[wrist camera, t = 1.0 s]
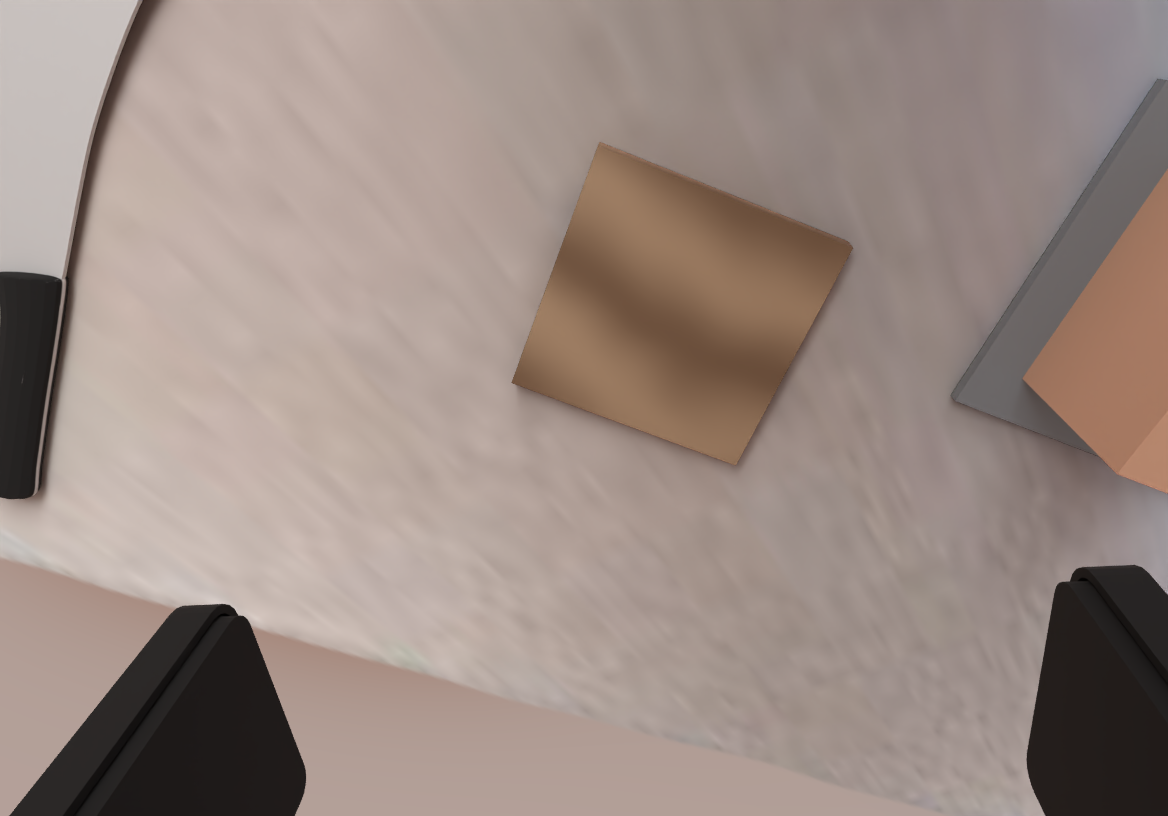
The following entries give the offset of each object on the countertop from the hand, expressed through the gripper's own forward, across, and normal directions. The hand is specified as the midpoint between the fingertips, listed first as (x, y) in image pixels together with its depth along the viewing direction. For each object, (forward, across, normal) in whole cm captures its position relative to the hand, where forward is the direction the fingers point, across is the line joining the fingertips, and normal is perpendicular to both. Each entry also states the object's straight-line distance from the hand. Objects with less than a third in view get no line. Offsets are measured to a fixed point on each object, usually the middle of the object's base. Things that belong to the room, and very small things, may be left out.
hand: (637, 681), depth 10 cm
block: (+26, -18, +5) cm, 32 cm away
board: (+27, 0, +5) cm, 27 cm away
